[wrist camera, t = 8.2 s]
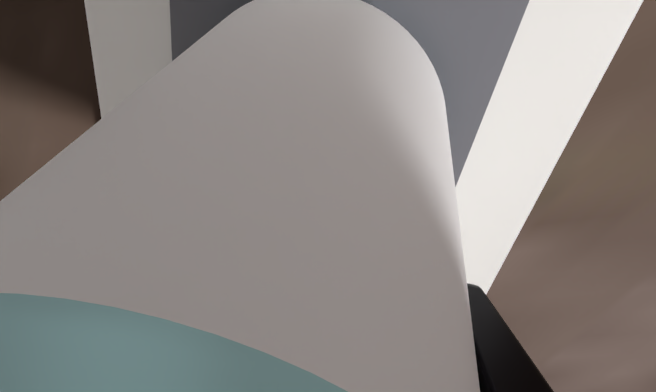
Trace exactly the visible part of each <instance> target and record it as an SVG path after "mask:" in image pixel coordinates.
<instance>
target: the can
mask: <svg viewBox="0 0 656 392" xmlns="http://www.w3.org/2000/svg"><path fill="white" fill-rule="evenodd" d="M0 392H480V386H479V378H478V370H477V362H476V354H475V345H474V337H473V329H472V321H471V312H470V304H469V296H468V288H467V279H466V271H465V263H464V255H463V246H462V238H461V230H460V222H459V213H458V205H457V197H456V189H455V180H454V172H453V164H452V156H451V148H450V139H449V131H448V123H447V115H446V106H445V100H444V95H443V90H442V87H441V84H440V81H439V78H438V76H437V73H436V71H435V69H434V67H433V65H432V63H431V61H430V60H429V58H428V56H427V54H426V53H425V51H424V50H423V49H422V47H421V46H420V45H419V43H418V42H417V41H416V40H415V39H414V38H413V36H412V35H411V34H410V33H409V32H408V31H407V30H406V29H405V28H404V27H402V26H401V25H400V24H399V23H398V22H397V21H395V20H394V19H393V18H391V17H390V16H389V15H387V14H386V13H384V12H383V11H381V10H379V9H377V8H376V7H374V6H372V5H370V4H368V3H366V2H363V1H361V0H253V1H251V2H249V3H247V4H245V5H243V6H242V7H240V8H238V9H237V10H235V11H234V12H232V13H231V14H230V15H229V16H227V17H226V18H225V19H224V20H222V21H221V22H220V23H219V24H217V25H216V26H215V27H214V28H213V29H211V30H210V31H209V32H208V33H206V34H205V35H204V36H203V37H201V38H200V39H199V40H198V41H197V42H195V43H194V44H193V45H192V46H190V47H189V48H188V49H187V50H185V51H184V52H183V53H182V54H181V55H179V56H178V57H177V58H176V59H174V60H173V61H172V62H171V63H169V64H168V65H167V66H166V67H165V68H163V69H162V70H161V71H160V72H158V73H157V74H156V75H155V76H153V77H152V78H151V79H150V80H149V81H147V82H146V83H145V84H144V85H142V86H141V87H140V88H139V89H138V90H136V91H135V92H134V93H133V94H131V95H130V96H129V97H128V98H126V99H125V100H124V101H123V102H122V103H120V104H119V105H118V106H117V107H115V108H114V109H113V110H112V111H110V112H109V113H108V114H107V115H106V116H104V117H103V118H102V119H101V120H99V121H98V122H97V123H96V124H94V125H93V126H92V127H91V128H90V129H88V130H87V131H86V132H85V133H83V134H82V135H81V136H80V137H78V138H77V139H76V140H75V141H74V142H72V143H71V144H70V145H69V146H67V147H66V148H65V149H64V150H63V151H61V152H60V153H59V154H58V155H56V156H55V157H54V158H53V159H51V160H50V161H49V162H48V163H47V164H45V165H44V166H43V167H42V168H40V169H39V170H38V171H37V172H35V173H34V174H33V175H32V176H31V177H29V178H28V179H27V180H26V181H24V182H23V183H22V184H21V185H19V186H18V187H17V188H16V189H15V190H13V191H12V192H11V193H10V194H8V195H7V196H6V197H5V198H3V199H2V200H1V201H0Z"/></svg>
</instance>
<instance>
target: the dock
mask: <svg viewBox="0 0 656 392" xmlns="http://www.w3.org/2000/svg"><path fill="white" fill-rule="evenodd" d="M251 1H253V0H84V3H85V10H86V16H87V23H88V30H89V37H90V44H91V51H92V58H93V64H94V71H95V78H96V85H97V92H98V99H99V105H100V112H101V119H102V118H103V117H104V116H106V115H107V114H108V113H109V112H110V111H112V110H113V109H114V108H115V107H117V106H118V105H119V104H120V103H122V102H123V101H124V100H125V99H126V98H128V97H129V96H130V95H131V94H133V93H134V92H135V91H136V90H138V89H139V88H140V87H141V86H142V85H144V84H145V83H146V82H147V81H149V80H150V79H151V78H152V77H153V76H155V75H156V74H157V73H158V72H160V71H161V70H162V69H163V68H165V67H166V66H167V65H168V64H169V63H171V62H172V61H173V60H174V59H176V58H177V57H178V56H179V55H181V54H182V53H183V52H184V51H185V50H187V49H188V48H189V47H190V46H192V45H193V44H194V43H195V42H197V41H198V40H199V39H200V38H201V37H203V36H204V35H205V34H206V33H208V32H209V31H210V30H211V29H213V28H214V27H215V26H216V25H217V24H219V23H220V22H221V21H222V20H224V19H225V18H226V17H227V16H229V15H230V14H231V13H232V12H234V11H235V10H237V9H238V8H240V7H242V6H243V5H245V4H247V3H249V2H251ZM361 1H363V2H366V3H368V4H370V5H372V6H374V7H376V8H377V9H379V10H381V11H383V12H384V13H386V14H387V15H389V16H390V17H391V18H393V19H394V20H395V21H397V22H398V23H399V24H400V25H401V26H402V27H404V28H405V29H406V30H407V31H408V32H409V33H410V34H411V35H412V36H413V38H414V39H415V40H416V41H417V42H418V43H419V45H420V46H421V47H422V49H423V50H424V51H425V53H426V54H427V56H428V58H429V60H430V61H431V63H432V65H433V67H434V69H435V71H436V73H437V76H438V78H439V81H440V84H441V87H442V90H443V95H444V100H445V106H446V115H447V123H448V131H449V139H450V148H451V156H452V164H453V172H454V180H455V189H456V197H457V205H458V213H459V222H460V230H461V238H462V246H463V255H464V263H465V271H466V279H467V283H470V284H474V285H477V286H479V287H480V288H481V289H482V290H483V291H484V293H485V294H487V292H488V290H489V288H490V286H491V285H492V283H493V281H494V279H495V277H496V275H497V273H498V271H499V270H500V268H501V266H502V264H503V262H504V260H505V258H506V256H507V255H508V253H509V251H510V249H511V247H512V245H513V243H514V241H515V240H516V238H517V236H518V234H519V232H520V230H521V228H522V227H523V225H524V223H525V221H526V219H527V217H528V215H529V213H530V212H531V210H532V208H533V206H534V204H535V202H536V200H537V198H538V197H539V195H540V193H541V191H542V189H543V187H544V185H545V184H546V182H547V180H548V178H549V176H550V174H551V172H552V170H553V169H554V167H555V165H556V163H557V161H558V159H559V157H560V155H561V154H562V152H563V150H564V148H565V146H566V144H567V142H568V140H569V139H570V137H571V135H572V133H573V131H574V129H575V127H576V126H577V124H578V122H579V120H580V118H581V116H582V114H583V112H584V111H585V109H586V107H587V105H588V103H589V101H590V99H591V97H592V96H593V94H594V92H595V90H596V88H597V86H598V84H599V82H600V81H601V79H602V77H603V75H604V73H605V71H606V69H607V68H608V66H609V64H610V62H611V60H612V58H613V56H614V54H615V53H616V51H617V49H618V47H619V45H620V43H621V41H622V39H623V38H624V36H625V34H626V32H627V30H628V28H629V26H630V25H631V23H632V21H633V19H634V17H635V15H636V13H637V11H638V10H639V8H640V6H641V4H642V2H643V0H361Z"/></svg>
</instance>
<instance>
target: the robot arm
mask: <svg viewBox="0 0 656 392" xmlns="http://www.w3.org/2000/svg"><path fill="white" fill-rule="evenodd" d="M467 288H468V296H469V304H470V312H471V321H472V329H473V337H474V345H475V354H476V362H477V370H478V378H479V386H480V392H554V391H553V390H552V389H551V387H550V386H549V384H548V383H547V381H546V380H545V379H544V377H543V376H542V374H541V373H540V371H539V370H538V369H537V367H536V366H535V364H534V363H533V361H532V360H531V359H530V357H529V356H528V354H527V353H526V351H525V350H524V349H523V347H522V346H521V344H520V343H519V341H518V340H517V339H516V337H515V336H514V334H513V333H512V331H511V330H510V329H509V327H508V326H507V324H506V323H505V321H504V320H503V319H502V317H501V316H500V314H499V313H498V311H497V310H496V309H495V307H494V306H493V304H492V303H491V301H490V300H489V299H488V297H487V296H486V294H485V293H484V291H483V290H482V289H481V288H480V287H479V286H477V285H474V284H470V283H467Z"/></svg>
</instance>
